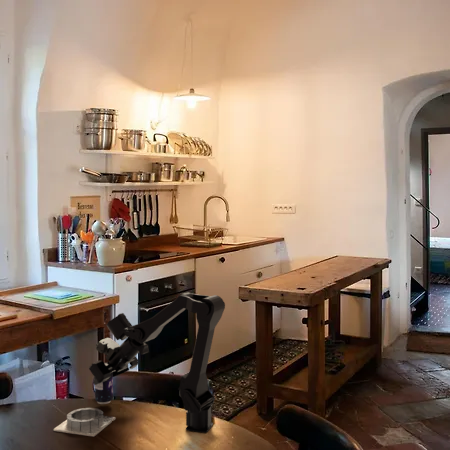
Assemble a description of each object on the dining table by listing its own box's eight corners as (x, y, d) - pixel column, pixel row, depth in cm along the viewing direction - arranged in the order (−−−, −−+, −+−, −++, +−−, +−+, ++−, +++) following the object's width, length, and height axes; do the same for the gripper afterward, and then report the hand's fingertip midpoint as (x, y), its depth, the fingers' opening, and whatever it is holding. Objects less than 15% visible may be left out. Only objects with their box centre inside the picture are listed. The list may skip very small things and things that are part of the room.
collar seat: (115, 419, 177) (115, 409, 177) (94, 436, 165) (93, 425, 165) (77, 414, 181) (77, 404, 181) (53, 430, 169) (53, 420, 168)
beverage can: (111, 404, 185) (110, 367, 184) (93, 404, 185) (92, 367, 184) (114, 398, 191) (114, 362, 190) (97, 398, 191) (96, 362, 190)
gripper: (130, 325, 193) (104, 354, 199) (93, 337, 176) (66, 369, 182) (150, 351, 190) (123, 380, 195) (114, 367, 173) (86, 397, 179)
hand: (100, 380), depth 188 cm, fingers closed on beverage can, 6 cm apart
